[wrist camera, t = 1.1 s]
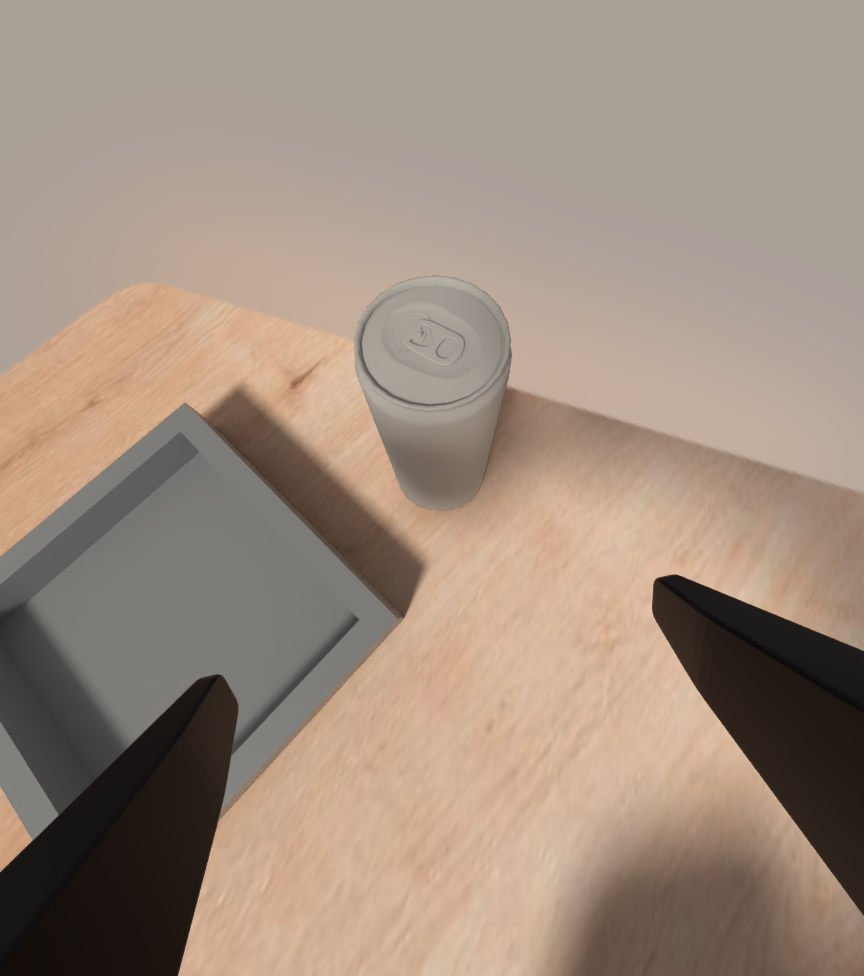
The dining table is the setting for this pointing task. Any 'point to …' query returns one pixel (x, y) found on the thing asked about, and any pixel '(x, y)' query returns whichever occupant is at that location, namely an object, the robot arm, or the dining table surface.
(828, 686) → the robot arm
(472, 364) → the beverage can
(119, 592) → the tray
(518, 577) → the dining table surface
